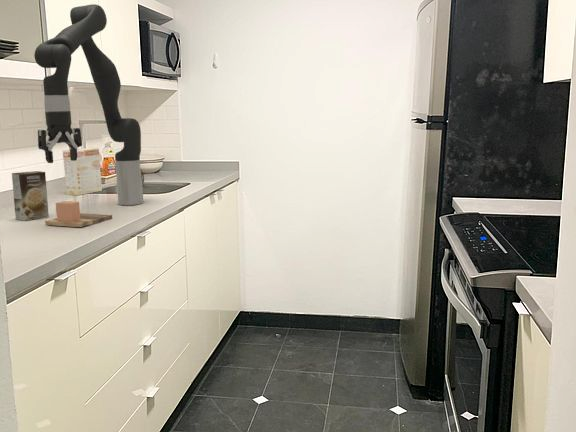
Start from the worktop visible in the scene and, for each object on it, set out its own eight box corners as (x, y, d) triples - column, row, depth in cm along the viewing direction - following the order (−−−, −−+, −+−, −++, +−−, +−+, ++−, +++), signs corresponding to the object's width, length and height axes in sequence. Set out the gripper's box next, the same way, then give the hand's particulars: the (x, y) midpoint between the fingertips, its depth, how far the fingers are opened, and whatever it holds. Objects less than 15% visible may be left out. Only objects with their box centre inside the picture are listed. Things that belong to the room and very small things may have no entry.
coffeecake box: (91, 190, 272) (88, 147, 268) (102, 191, 268) (99, 148, 265) (65, 194, 259) (61, 150, 255) (77, 195, 255) (73, 150, 252)
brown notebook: (78, 216, 207) (78, 212, 207) (112, 218, 202) (112, 214, 202) (59, 221, 198) (58, 218, 198) (93, 224, 193) (93, 220, 193)
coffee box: (24, 221, 200) (19, 174, 197) (15, 219, 204) (10, 173, 201) (49, 217, 207) (45, 171, 204) (40, 215, 211) (36, 170, 208)
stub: (58, 221, 198) (56, 200, 196) (92, 223, 193) (91, 201, 192) (45, 224, 192) (43, 203, 191) (80, 227, 187) (78, 204, 186)
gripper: (69, 109, 193) (73, 159, 196) (30, 110, 181) (35, 163, 184) (84, 109, 189) (88, 160, 192) (44, 110, 177) (49, 164, 180)
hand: (62, 161), depth 188 cm, fingers open, 8 cm apart
